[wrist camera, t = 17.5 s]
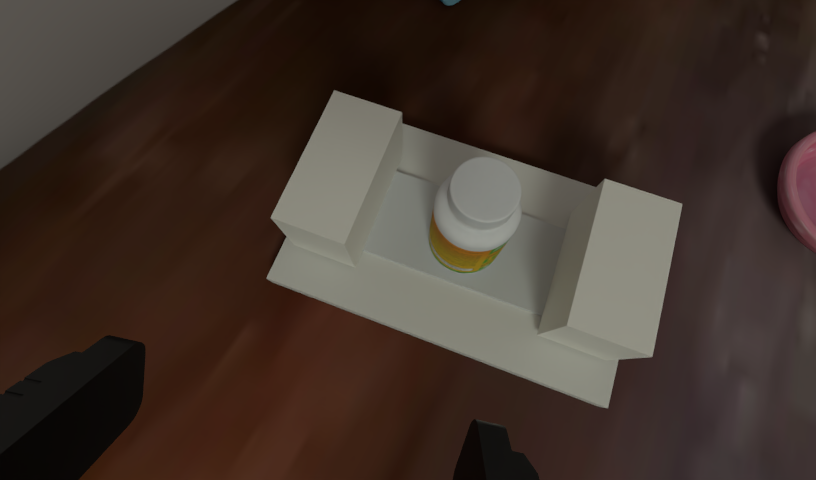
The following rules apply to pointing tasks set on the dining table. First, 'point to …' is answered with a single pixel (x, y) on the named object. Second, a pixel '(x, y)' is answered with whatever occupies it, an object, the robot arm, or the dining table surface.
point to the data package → (450, 2)
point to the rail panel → (496, 284)
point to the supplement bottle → (475, 215)
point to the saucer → (799, 190)
